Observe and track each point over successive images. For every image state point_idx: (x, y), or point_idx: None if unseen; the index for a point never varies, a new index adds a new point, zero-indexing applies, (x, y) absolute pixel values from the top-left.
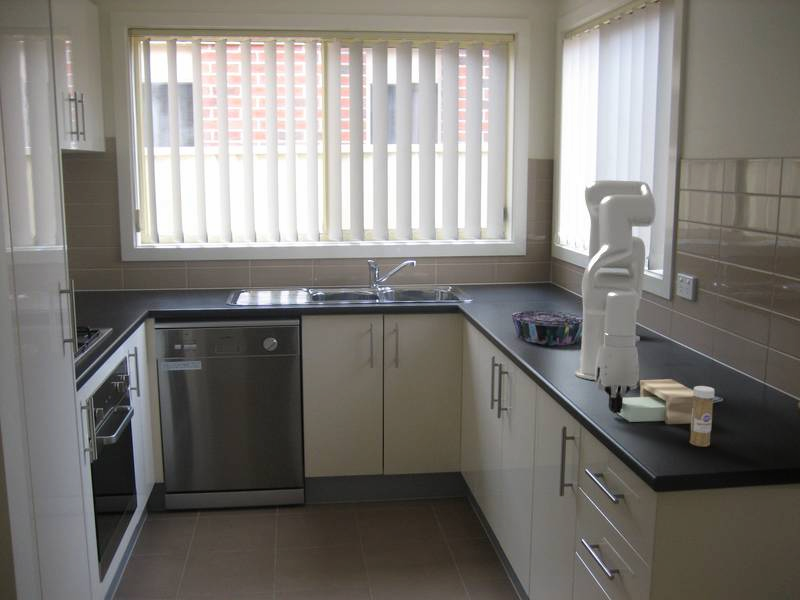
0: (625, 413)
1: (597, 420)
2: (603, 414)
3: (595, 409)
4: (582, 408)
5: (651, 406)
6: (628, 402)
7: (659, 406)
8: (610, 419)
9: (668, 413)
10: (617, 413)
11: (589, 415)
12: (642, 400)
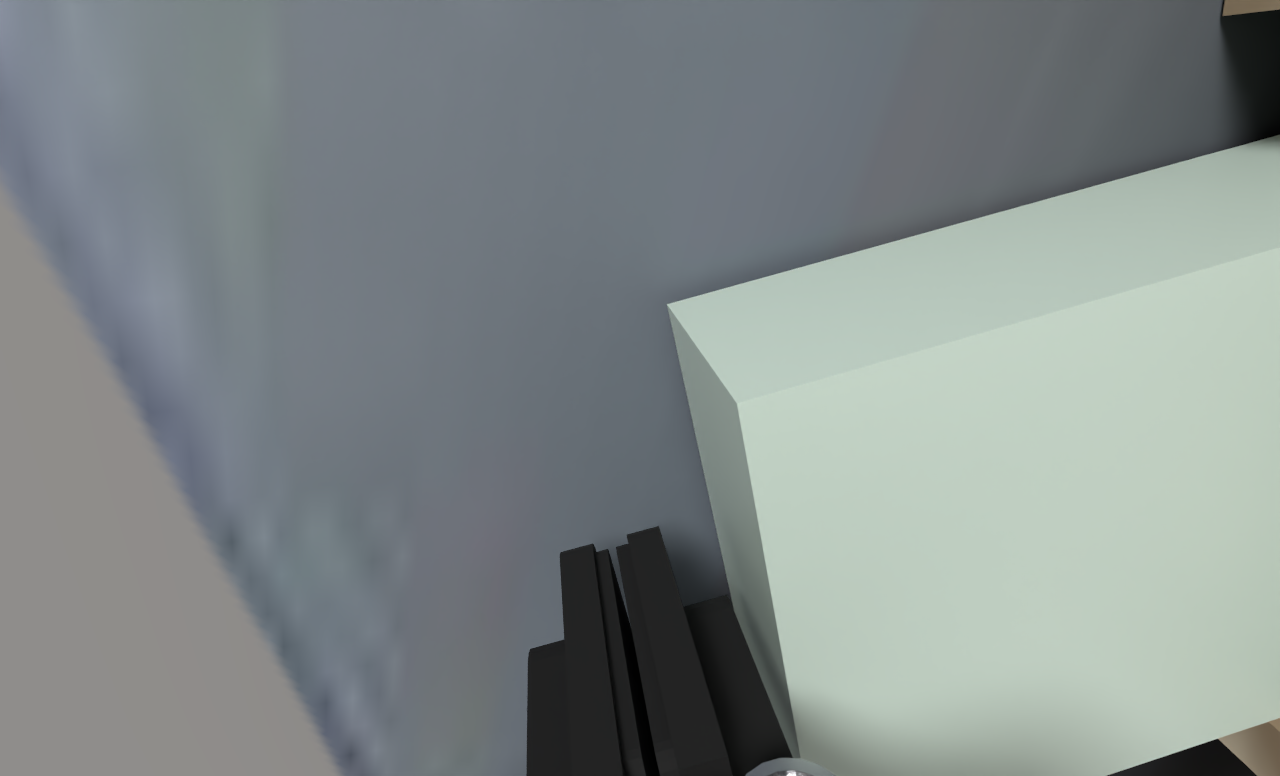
0: (756, 662)
1: (370, 671)
2: (479, 429)
3: (356, 160)
4: (68, 109)
5: (1162, 726)
6: (911, 635)
7: (1273, 698)
8: (548, 610)
9: (1231, 746)
10: (694, 428)
11: (250, 505)
12: (1240, 460)
